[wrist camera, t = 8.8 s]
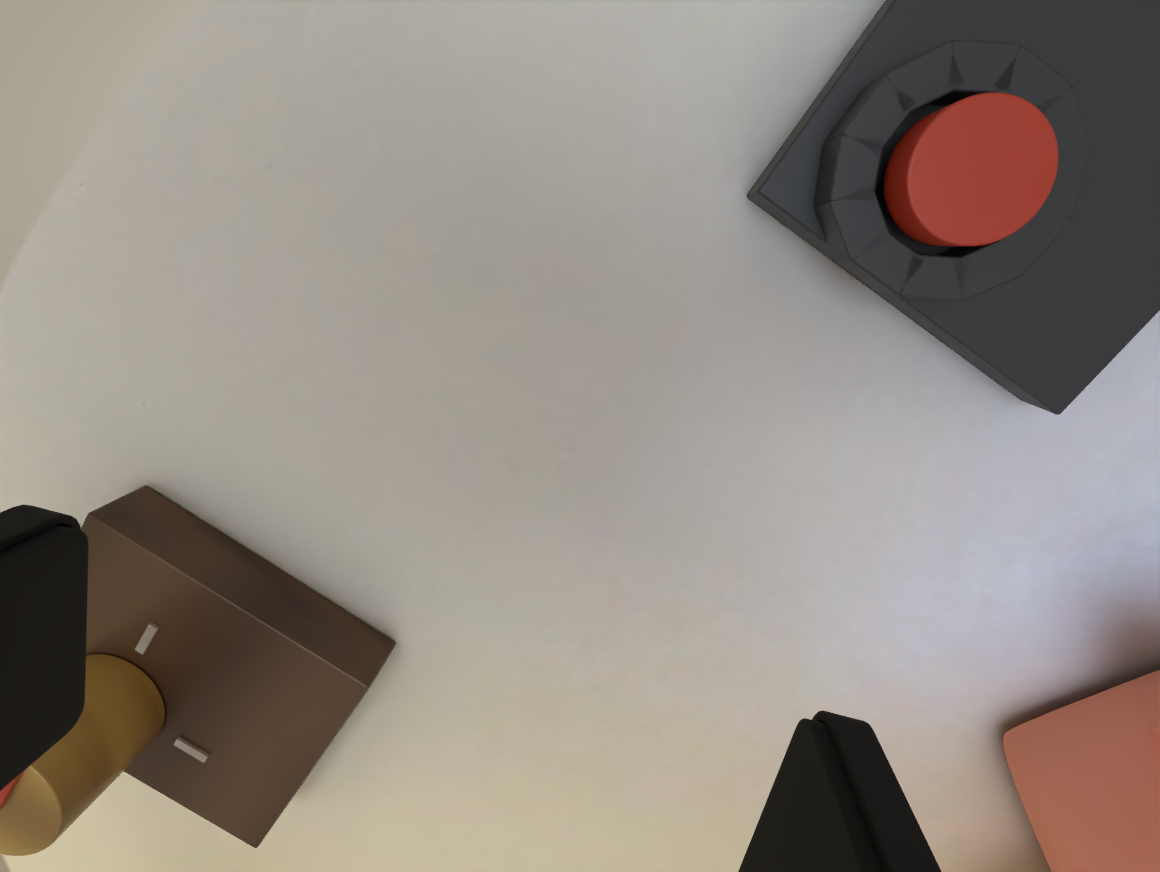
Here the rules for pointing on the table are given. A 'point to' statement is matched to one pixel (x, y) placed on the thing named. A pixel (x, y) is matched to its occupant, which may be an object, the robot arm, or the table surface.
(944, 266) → the button block
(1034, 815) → the teapot
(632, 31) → the table surface
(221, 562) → the panel
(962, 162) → the button
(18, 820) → the knob
